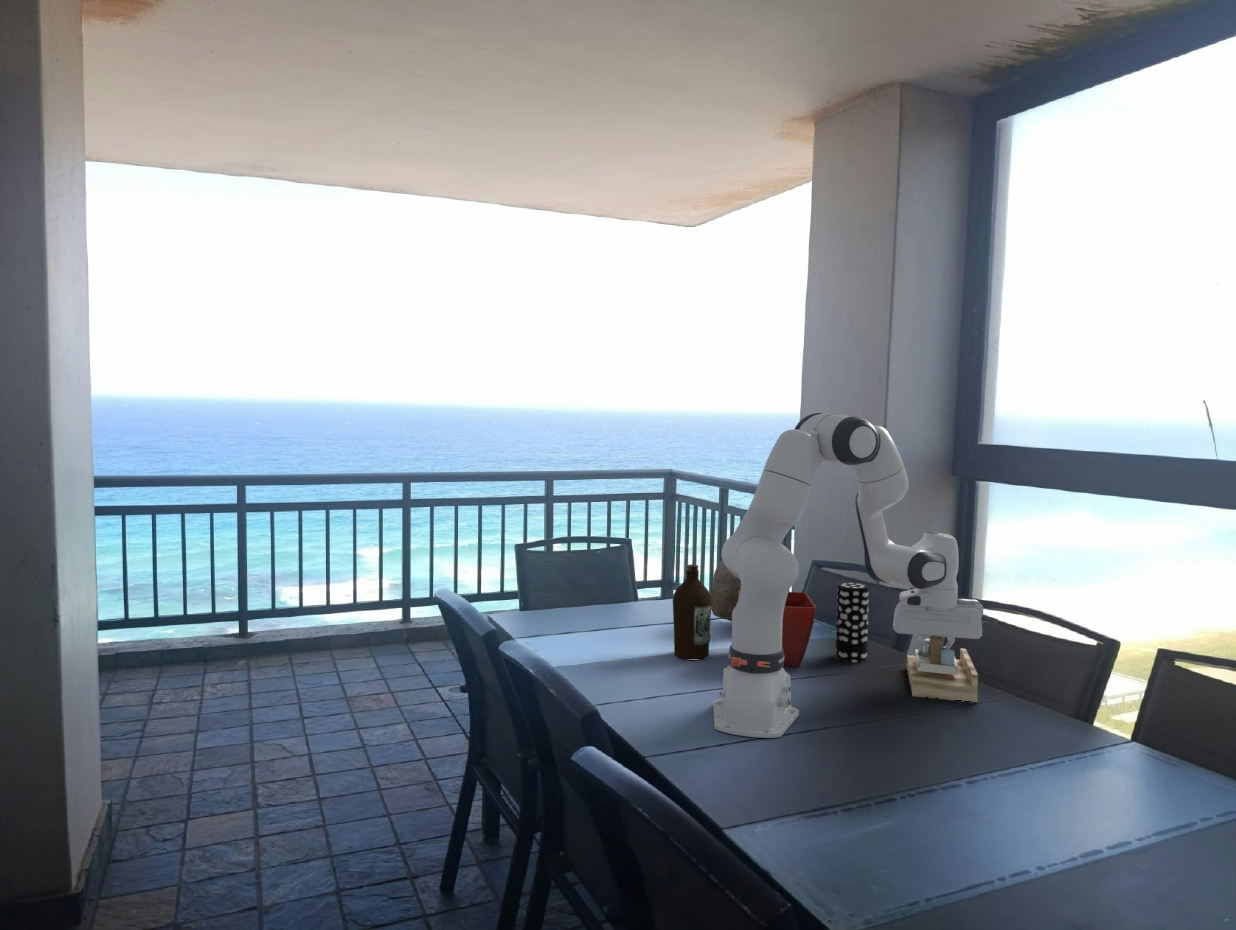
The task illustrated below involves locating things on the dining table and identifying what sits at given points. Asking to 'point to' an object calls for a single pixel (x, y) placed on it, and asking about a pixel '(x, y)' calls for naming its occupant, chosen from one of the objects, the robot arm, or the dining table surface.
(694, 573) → the olive oil
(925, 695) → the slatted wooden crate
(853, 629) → the white-spotted black cylinder
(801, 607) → the plant pot
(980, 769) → the dining table surface
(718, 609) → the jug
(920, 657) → the caddy tray
